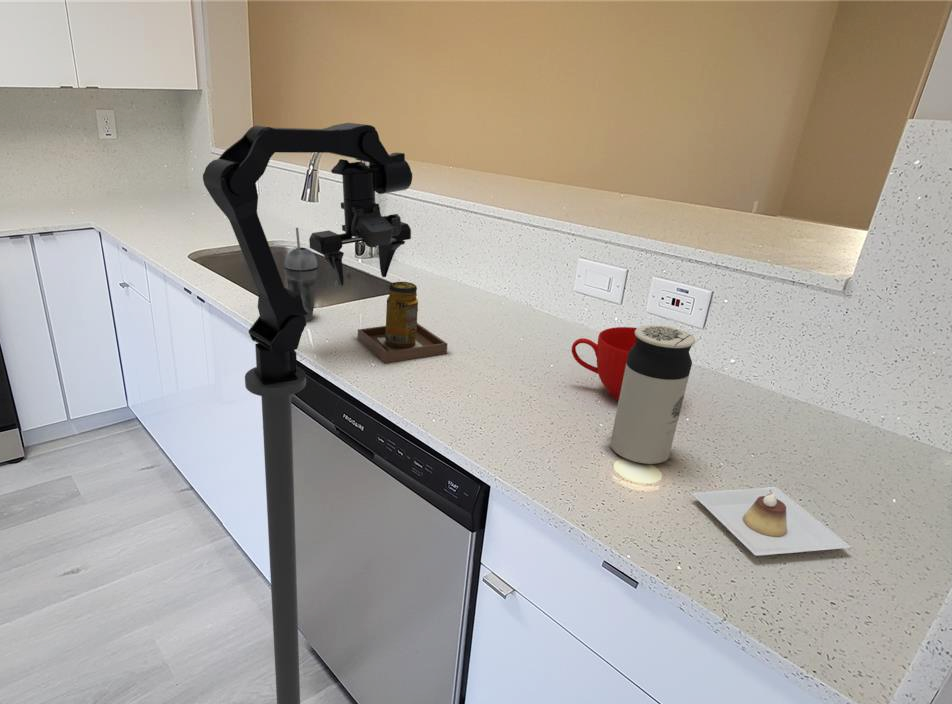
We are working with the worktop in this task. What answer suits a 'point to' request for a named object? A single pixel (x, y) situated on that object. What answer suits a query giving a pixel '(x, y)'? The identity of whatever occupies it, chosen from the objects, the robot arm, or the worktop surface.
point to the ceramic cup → (610, 356)
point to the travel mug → (652, 394)
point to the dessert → (769, 521)
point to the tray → (423, 336)
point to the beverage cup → (302, 275)
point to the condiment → (401, 317)
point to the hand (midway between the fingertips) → (362, 281)
